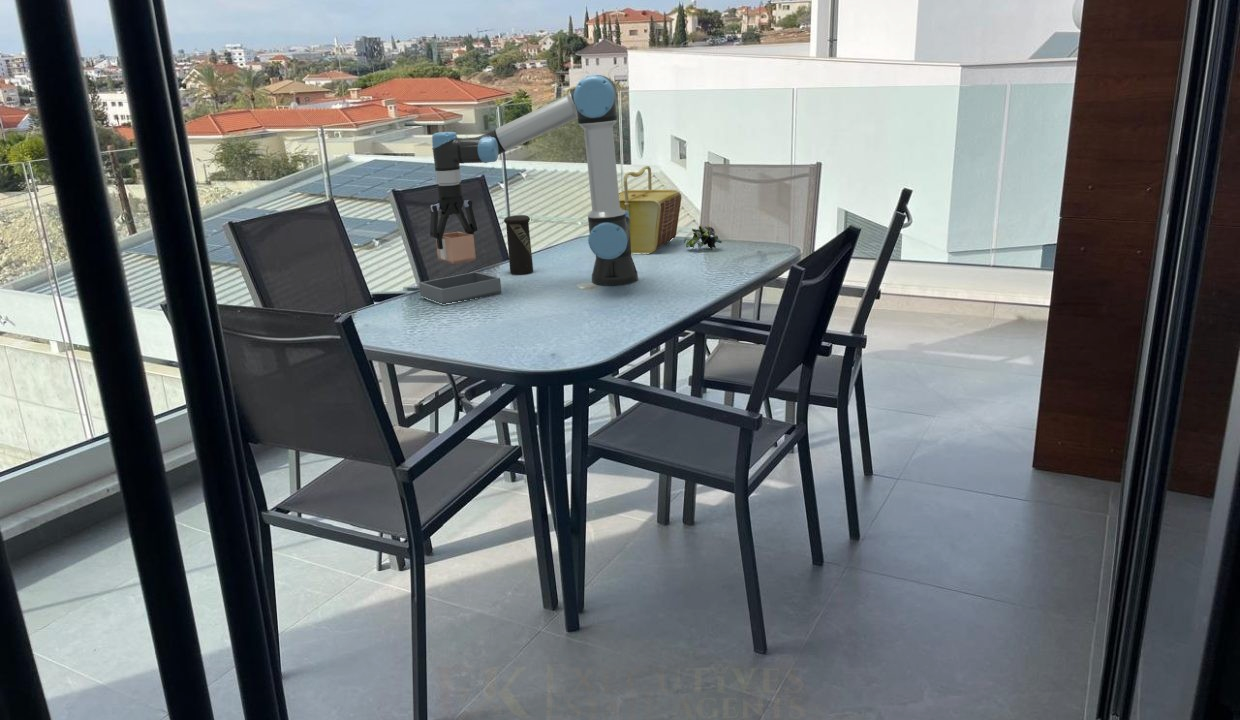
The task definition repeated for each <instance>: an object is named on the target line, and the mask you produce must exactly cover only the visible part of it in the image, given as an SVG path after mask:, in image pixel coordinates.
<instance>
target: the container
mask: <svg viewBox="0 0 1240 720" xmlns="http://www.w3.org/2000/svg"><path fill="white" fill-rule="evenodd" d="M530 221H531V217H530V216H528V215H526V214H516V215H509V216H506V217H504V219H503V222H504V223H505V226H506V227H505V228H506V238H507V247H508V248H507V249H508V261H509V262H508V263H509V273H510V274H511V273H512V274H511V275H527V274H528V273H529V274H531V273H533V272H534V263H533V255H532V254H533V253H532V245H531V236H530V225H529V224H530V223H529V222H530Z"/></svg>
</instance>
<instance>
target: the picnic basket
mask: <svg viewBox="0 0 1240 720" xmlns="http://www.w3.org/2000/svg"><path fill="white" fill-rule="evenodd" d="M646 170H647V178H648V179H647V181H648V182H647V184H648V185H647V186H648V189H628V187H629V186H628V177H629V176H631V177H635V178H637V177H641V176H642V175H643V174H644V173H645V171H646ZM652 188H653V187H652V169H651V167H650V166H649V165H646V166H643V167H641V169H640V170H638V171H637V172H633V171H628V172H626V173H625V174H624V176H623V191H621V192H619V202H620V208H621V209H622V210H626V211H628V212H629V217H630V239H631V253H651V254H652V253H654V252H655V251H656V250H657V249H658V248H659V249H660V247H662V246H664V245H666V244H667V243H669V242H668V241H670V240H671V239H672V238H674V239H675V238H676V237H677V231H678V224H679V218H680V210H681V204H682V203H681V202H682V193H680V191H678V190H676V189H652ZM670 242H671V241H670Z"/></svg>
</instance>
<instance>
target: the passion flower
mask: <svg viewBox="0 0 1240 720" xmlns="http://www.w3.org/2000/svg"><path fill="white" fill-rule="evenodd" d="M691 231H692V232H693V235H692V238H690V239H689V238H687V237H685V238H684V240H683V243H684V244H686V245H685V247H686V248H688V247H689V248H690V247H693V248H692V249H694V247H695V245H696V244H697V251H698V252H699V251H700V249H701V248H702V247H703V246H706V245H707V247H710V248H714V249H717V248H716V247H717V246H716V243H718V244H722V242H723V241H722V240H720V238H719V236H718V235H717V234H716V231H715V229H714V228H713V227H712V226H709V225H707V226H704V227H703V226H702V225H699V226H698V228H697V229H696V228H693V227H692V229H691ZM687 240H688V241H687ZM700 240H701V241H700ZM686 241H687V242H686ZM710 248H709V249H710Z"/></svg>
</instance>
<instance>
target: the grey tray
mask: <svg viewBox="0 0 1240 720" xmlns="http://www.w3.org/2000/svg"><path fill="white" fill-rule="evenodd" d="M418 284H419V285H418V286H419V292H420V293H419V294H420V295H419V296H420V297H421V296H423V297H426V298H428V299H431V300H434V301H436V302H439V303H442V304H446V303H452V302H458V301H464V300H469V301H471V300H470V299H474V300H476V299H475V298H478V299H481V298H480V297H483V298H487V297H486V296H488V297H491V295H492V296H495V295H496V294H497V295H501V293H502V284H501V277H497V276H494V275H489V274H485V273H483V272H480V271H479V272H478V271H473V272H467V273H461V274H456V275H453V276H452V275H451V276H447V277H440V278H436V279H435V278H434V279H430V280H426V281H421V282H420V281H419V282H418ZM502 294H503V293H502ZM497 295H496V296H497ZM464 302H465V301H464Z"/></svg>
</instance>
